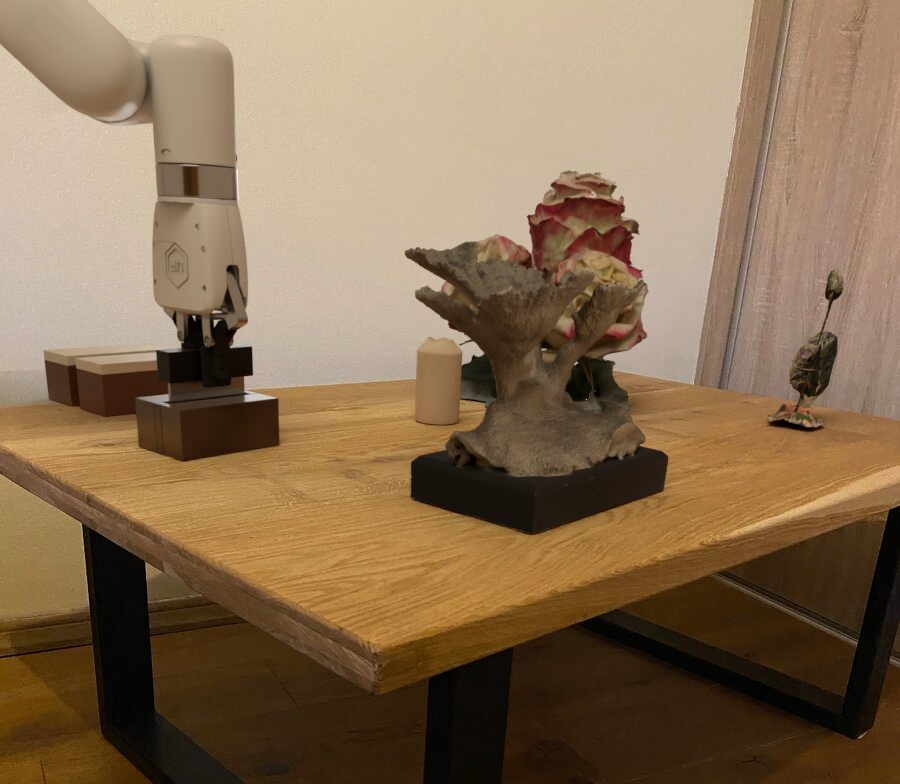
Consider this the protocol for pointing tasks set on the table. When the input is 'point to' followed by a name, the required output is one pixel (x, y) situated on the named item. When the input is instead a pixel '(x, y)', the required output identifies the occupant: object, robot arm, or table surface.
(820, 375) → the plant with pod
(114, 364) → the wooden blocks
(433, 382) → the candle
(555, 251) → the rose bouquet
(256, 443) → the brown wooden slotted box
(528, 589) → the table surface
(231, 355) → the dark piece
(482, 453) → the coral
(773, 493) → the table surface
